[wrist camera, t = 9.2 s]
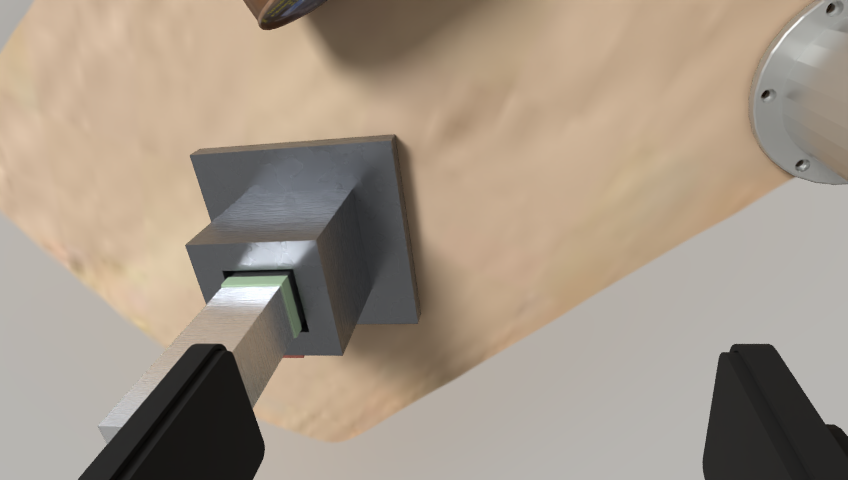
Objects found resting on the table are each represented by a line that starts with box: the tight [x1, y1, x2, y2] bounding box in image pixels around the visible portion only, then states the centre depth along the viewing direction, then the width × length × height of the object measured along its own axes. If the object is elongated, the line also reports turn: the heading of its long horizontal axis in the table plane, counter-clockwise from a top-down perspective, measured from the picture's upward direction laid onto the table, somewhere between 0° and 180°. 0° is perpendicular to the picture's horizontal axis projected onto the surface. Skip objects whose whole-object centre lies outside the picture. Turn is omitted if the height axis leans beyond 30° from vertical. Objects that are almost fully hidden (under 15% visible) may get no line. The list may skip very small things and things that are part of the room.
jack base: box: [185, 135, 421, 358], centre depth 41 cm, size 16×16×10 cm
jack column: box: [98, 269, 306, 444], centre depth 32 cm, size 4×4×16 cm
